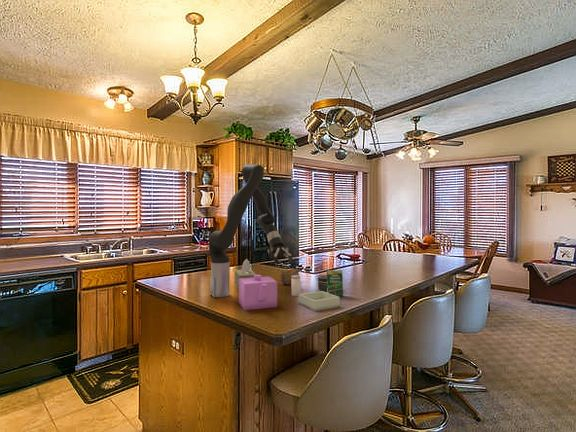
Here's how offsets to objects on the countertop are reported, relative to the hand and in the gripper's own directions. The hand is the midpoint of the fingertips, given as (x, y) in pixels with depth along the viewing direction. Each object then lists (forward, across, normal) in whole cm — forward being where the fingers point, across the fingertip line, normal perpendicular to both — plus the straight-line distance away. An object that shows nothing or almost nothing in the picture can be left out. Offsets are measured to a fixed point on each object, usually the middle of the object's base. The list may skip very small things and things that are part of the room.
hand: (285, 263), depth 189 cm
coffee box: (+27, +16, -6) cm, 32 cm away
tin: (0, +12, +22) cm, 25 cm away
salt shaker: (+19, 0, +2) cm, 19 cm away
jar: (+19, +20, +3) cm, 28 cm away
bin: (+34, -1, -13) cm, 37 cm away
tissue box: (-5, -14, +27) cm, 31 cm away
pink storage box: (+24, -25, -3) cm, 35 cm away
